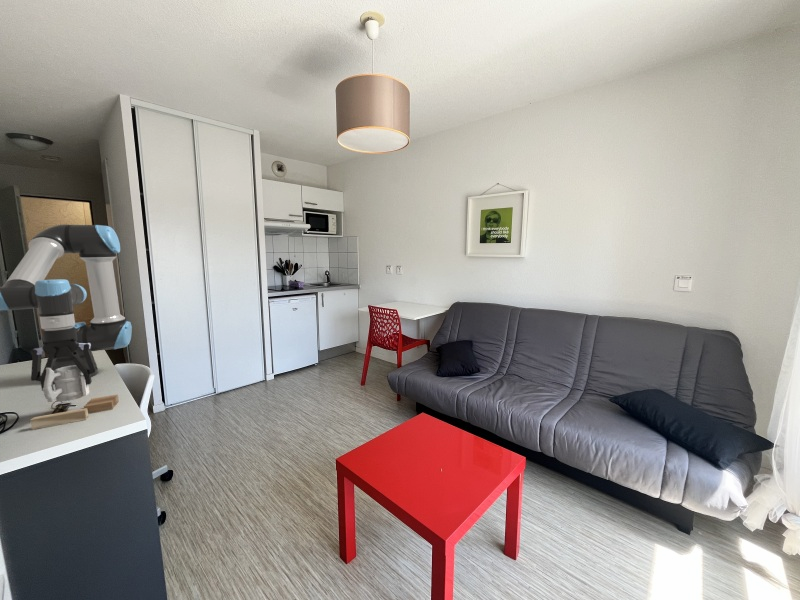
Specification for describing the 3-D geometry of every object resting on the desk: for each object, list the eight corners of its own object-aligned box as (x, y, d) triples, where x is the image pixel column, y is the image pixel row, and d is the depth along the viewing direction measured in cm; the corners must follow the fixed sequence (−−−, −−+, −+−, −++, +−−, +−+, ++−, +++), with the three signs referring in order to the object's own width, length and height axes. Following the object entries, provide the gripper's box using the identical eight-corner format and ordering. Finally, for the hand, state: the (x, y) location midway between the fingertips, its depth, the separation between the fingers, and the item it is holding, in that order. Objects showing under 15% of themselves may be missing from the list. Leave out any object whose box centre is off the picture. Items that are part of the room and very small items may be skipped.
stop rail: (35, 426, 98) (33, 417, 97) (88, 417, 103) (87, 408, 103) (31, 429, 96) (30, 420, 96) (86, 419, 102) (84, 410, 101)
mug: (94, 392, 111) (89, 358, 110) (59, 407, 100) (54, 369, 98) (71, 392, 111) (66, 358, 110) (33, 408, 99) (28, 370, 98)
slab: (92, 407, 111) (91, 398, 111) (118, 402, 115) (117, 394, 114) (84, 415, 105) (83, 406, 105) (112, 410, 109) (111, 401, 108)
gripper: (5, 334, 95) (17, 408, 98) (97, 326, 105) (106, 394, 107) (19, 330, 102) (30, 399, 104) (105, 322, 111) (113, 386, 114)
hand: (69, 397), depth 106 cm, fingers closed on mug, 8 cm apart
